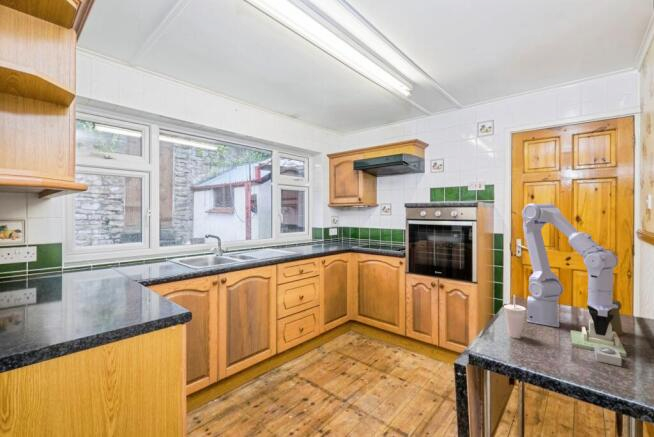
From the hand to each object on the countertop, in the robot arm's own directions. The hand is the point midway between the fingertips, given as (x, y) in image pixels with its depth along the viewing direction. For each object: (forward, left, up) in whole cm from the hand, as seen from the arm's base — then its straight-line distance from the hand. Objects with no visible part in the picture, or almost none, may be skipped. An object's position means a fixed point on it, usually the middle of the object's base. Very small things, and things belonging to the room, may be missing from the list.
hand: (599, 332), depth 96 cm
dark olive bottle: (+4, +13, -3) cm, 14 cm away
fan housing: (+1, -13, -3) cm, 13 cm away
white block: (0, 0, -2) cm, 2 cm away
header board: (-1, -2, -3) cm, 4 cm away
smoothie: (-22, -9, -3) cm, 24 cm away
